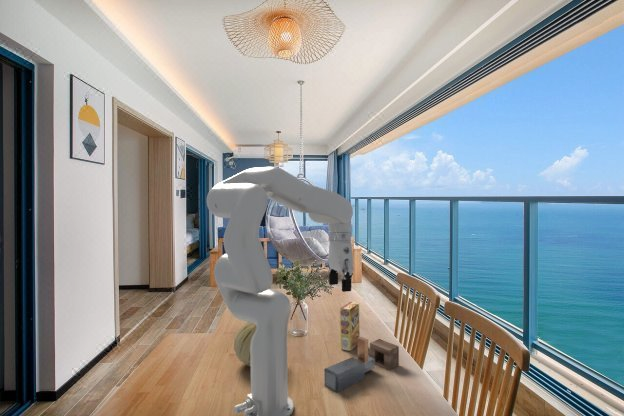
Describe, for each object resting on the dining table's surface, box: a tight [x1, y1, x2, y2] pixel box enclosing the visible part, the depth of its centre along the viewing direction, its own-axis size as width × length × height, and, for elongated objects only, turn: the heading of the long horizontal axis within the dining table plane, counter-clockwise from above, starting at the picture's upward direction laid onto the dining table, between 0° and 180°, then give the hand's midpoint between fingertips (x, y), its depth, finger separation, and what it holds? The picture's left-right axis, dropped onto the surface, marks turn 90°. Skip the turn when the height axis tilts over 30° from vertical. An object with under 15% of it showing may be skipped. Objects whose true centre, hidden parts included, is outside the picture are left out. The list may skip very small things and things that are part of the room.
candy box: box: [339, 301, 361, 352], centre depth 134 cm, size 9×4×15 cm, turn 150°
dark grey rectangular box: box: [323, 356, 366, 393], centre depth 108 cm, size 12×5×5 cm, turn 130°
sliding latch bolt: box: [357, 336, 376, 373], centre depth 111 cm, size 16×3×10 cm, turn 130°
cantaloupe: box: [233, 322, 257, 368], centre depth 120 cm, size 15×15×15 cm
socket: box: [369, 339, 400, 371], centre depth 120 cm, size 5×8×6 cm, turn 40°
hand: (339, 287), depth 121 cm, fingers open, 9 cm apart
